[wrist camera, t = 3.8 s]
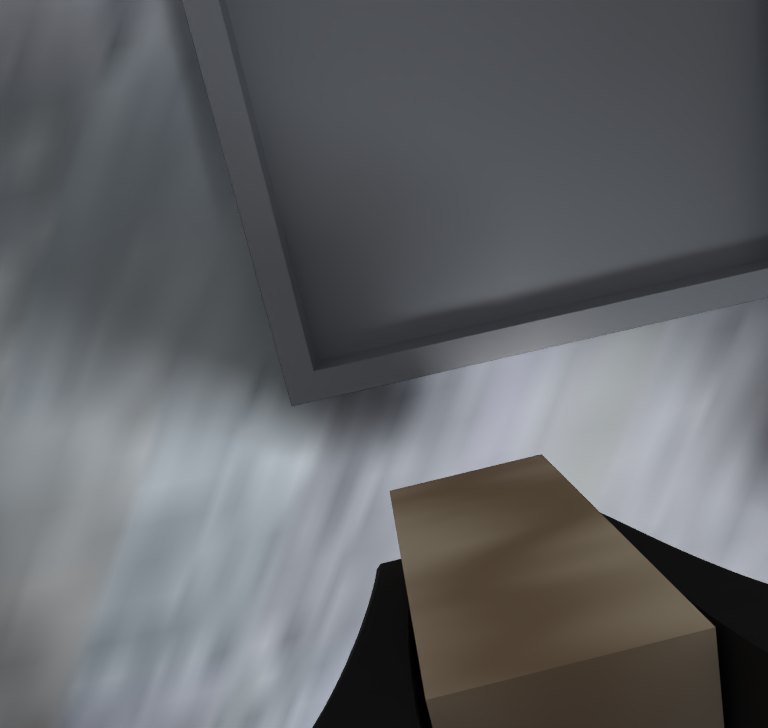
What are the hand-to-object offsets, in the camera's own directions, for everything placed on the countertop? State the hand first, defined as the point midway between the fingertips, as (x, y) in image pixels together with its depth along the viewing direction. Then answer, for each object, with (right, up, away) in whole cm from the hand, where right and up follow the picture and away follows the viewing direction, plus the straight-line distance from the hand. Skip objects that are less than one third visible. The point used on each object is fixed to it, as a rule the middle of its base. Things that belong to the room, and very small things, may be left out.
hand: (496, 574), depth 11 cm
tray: (+2, +14, +6) cm, 15 cm away
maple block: (0, 0, +1) cm, 1 cm away
